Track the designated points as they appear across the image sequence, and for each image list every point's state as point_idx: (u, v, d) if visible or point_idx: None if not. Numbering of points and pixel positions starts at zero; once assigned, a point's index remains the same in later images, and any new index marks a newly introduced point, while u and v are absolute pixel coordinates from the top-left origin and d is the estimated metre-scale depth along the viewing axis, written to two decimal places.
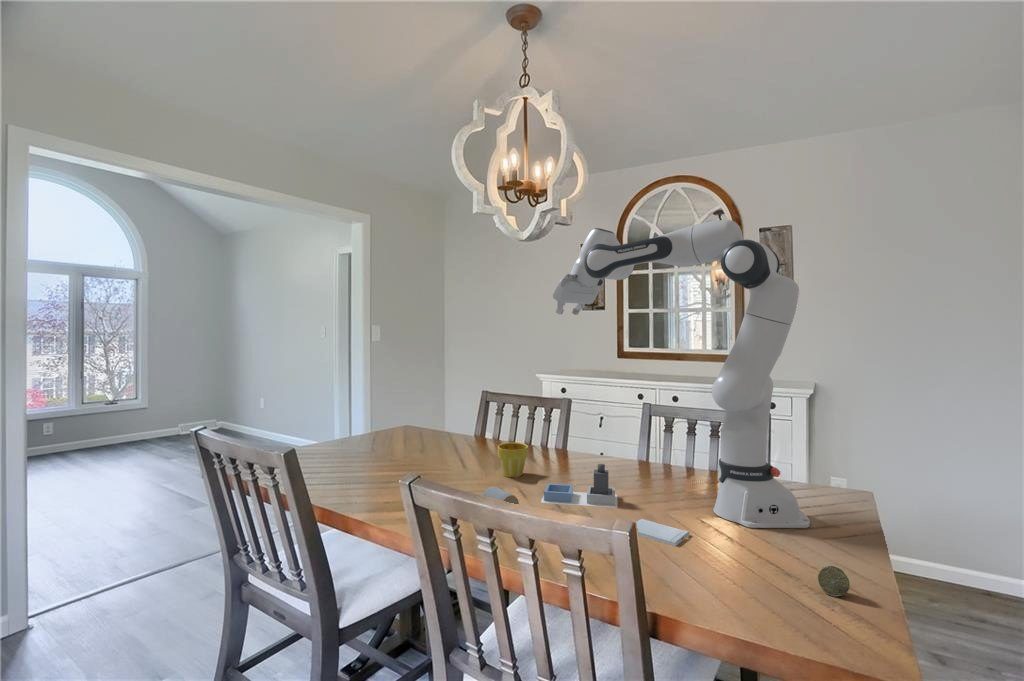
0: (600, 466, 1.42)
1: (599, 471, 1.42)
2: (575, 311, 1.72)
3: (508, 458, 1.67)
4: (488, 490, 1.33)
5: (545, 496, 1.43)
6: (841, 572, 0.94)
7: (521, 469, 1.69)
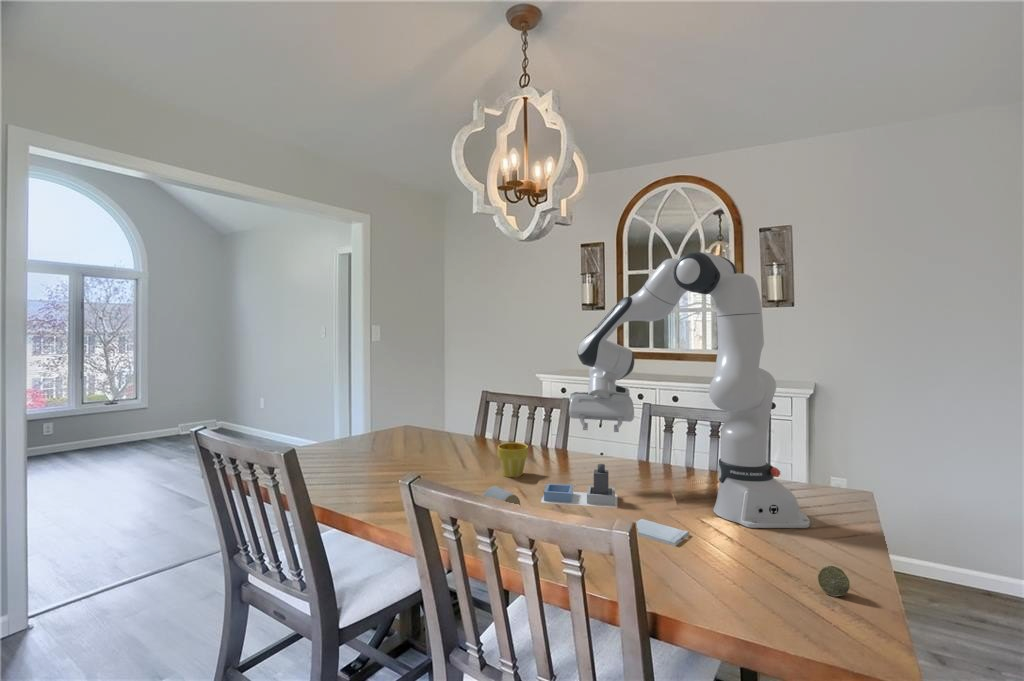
0: (600, 466, 1.42)
1: (599, 471, 1.42)
2: (614, 427, 1.56)
3: (508, 458, 1.67)
4: (489, 490, 1.33)
5: (545, 496, 1.43)
6: (841, 572, 0.94)
7: (521, 469, 1.69)
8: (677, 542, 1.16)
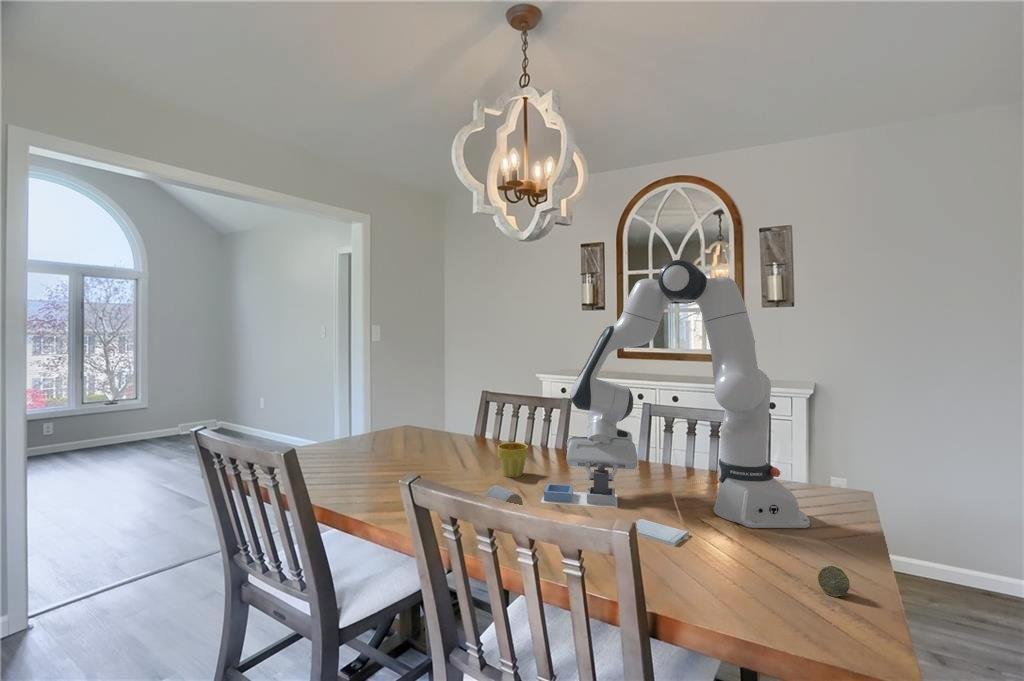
0: (600, 466, 1.42)
1: (599, 471, 1.42)
2: None
3: (508, 458, 1.67)
4: (492, 489, 1.34)
5: (545, 496, 1.43)
6: (841, 572, 0.94)
7: (521, 469, 1.69)
8: (677, 542, 1.16)
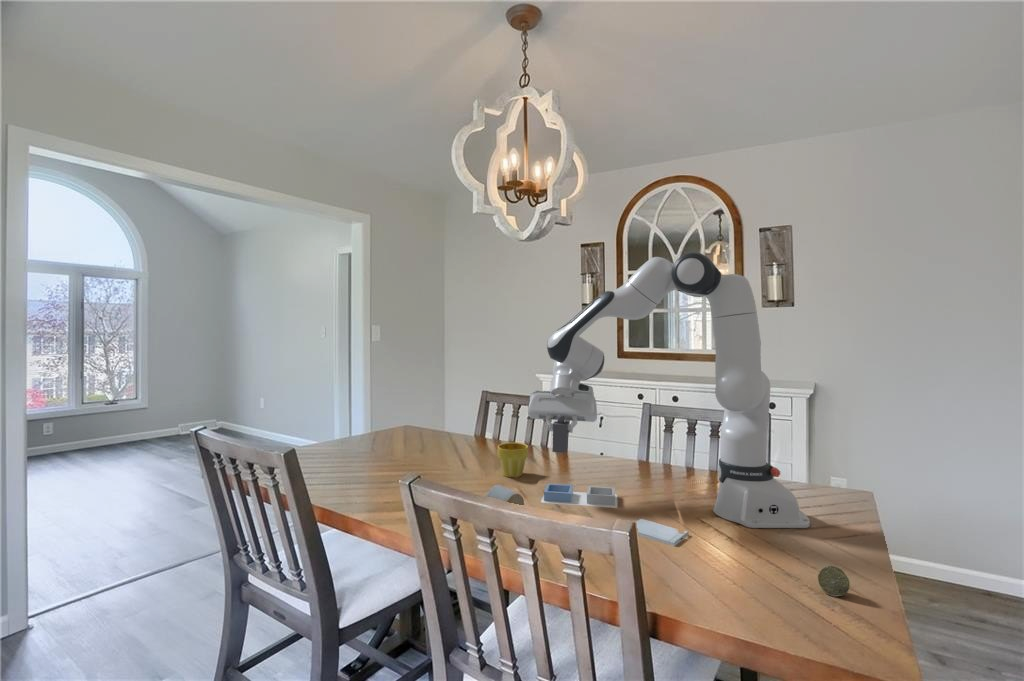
0: (559, 417, 1.44)
1: (558, 422, 1.45)
2: (567, 427, 1.45)
3: (508, 458, 1.67)
4: (493, 488, 1.34)
5: (545, 496, 1.43)
6: (841, 572, 0.94)
7: (521, 469, 1.69)
8: (676, 542, 1.16)
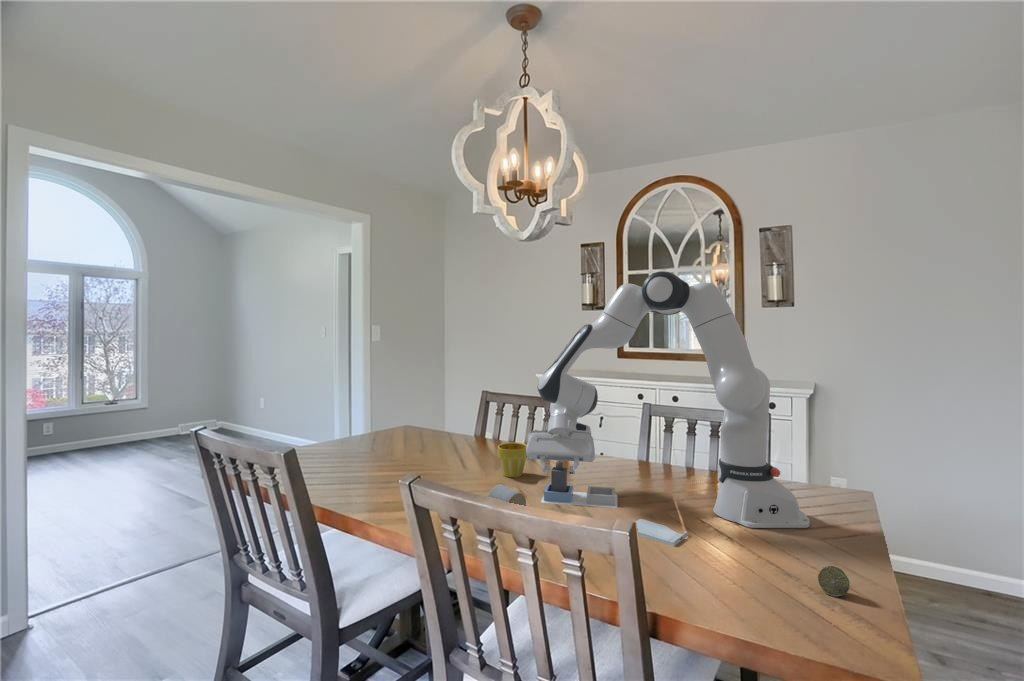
0: (558, 464, 1.45)
1: (557, 469, 1.45)
2: None
3: (508, 458, 1.67)
4: (495, 488, 1.34)
5: (545, 496, 1.43)
6: (841, 572, 0.94)
7: (521, 469, 1.69)
8: (676, 542, 1.16)
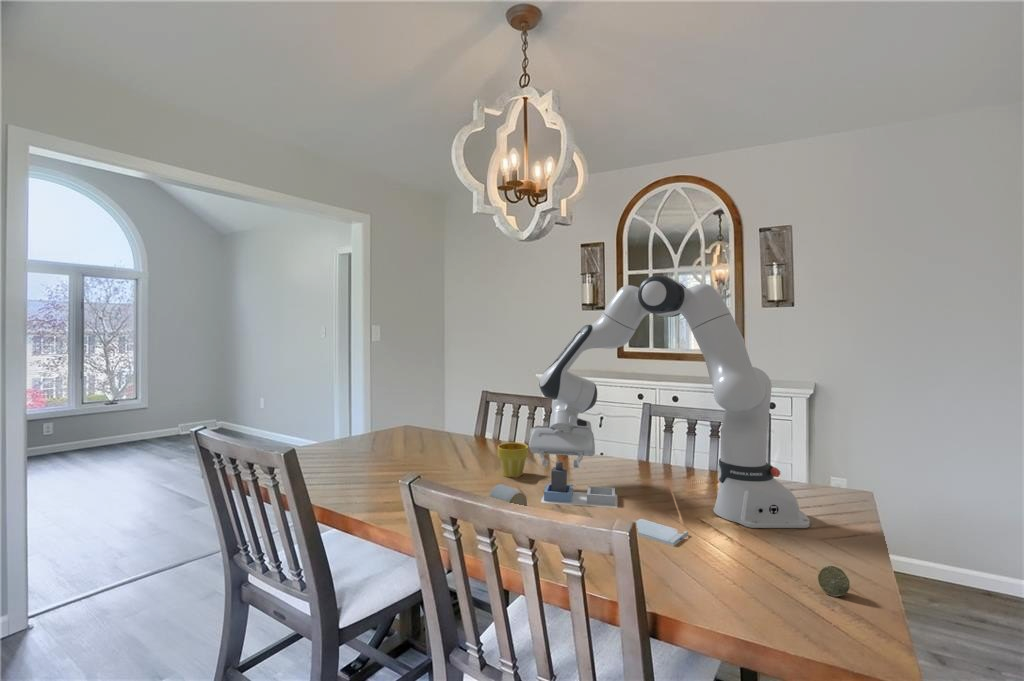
0: (558, 464, 1.45)
1: (557, 469, 1.45)
2: (574, 462, 1.51)
3: (508, 458, 1.67)
4: (496, 488, 1.35)
5: (545, 496, 1.43)
6: (841, 572, 0.94)
7: (521, 469, 1.69)
8: (675, 542, 1.16)
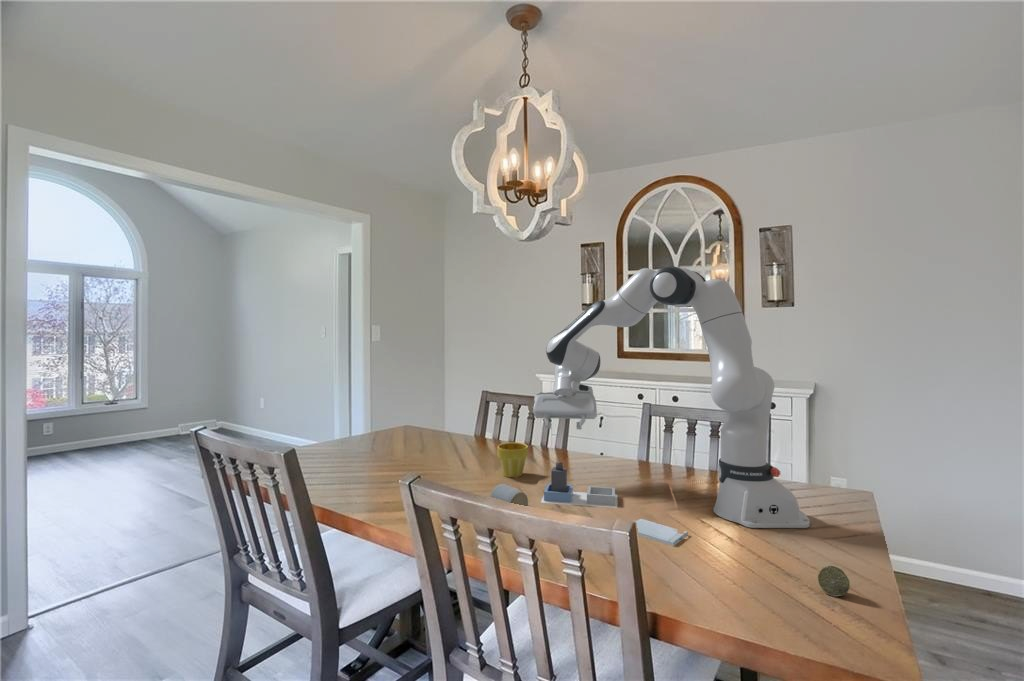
0: (558, 464, 1.45)
1: (557, 469, 1.45)
2: None
3: (508, 458, 1.67)
4: (497, 487, 1.35)
5: (545, 496, 1.43)
6: (841, 572, 0.94)
7: (521, 469, 1.69)
8: (675, 542, 1.16)
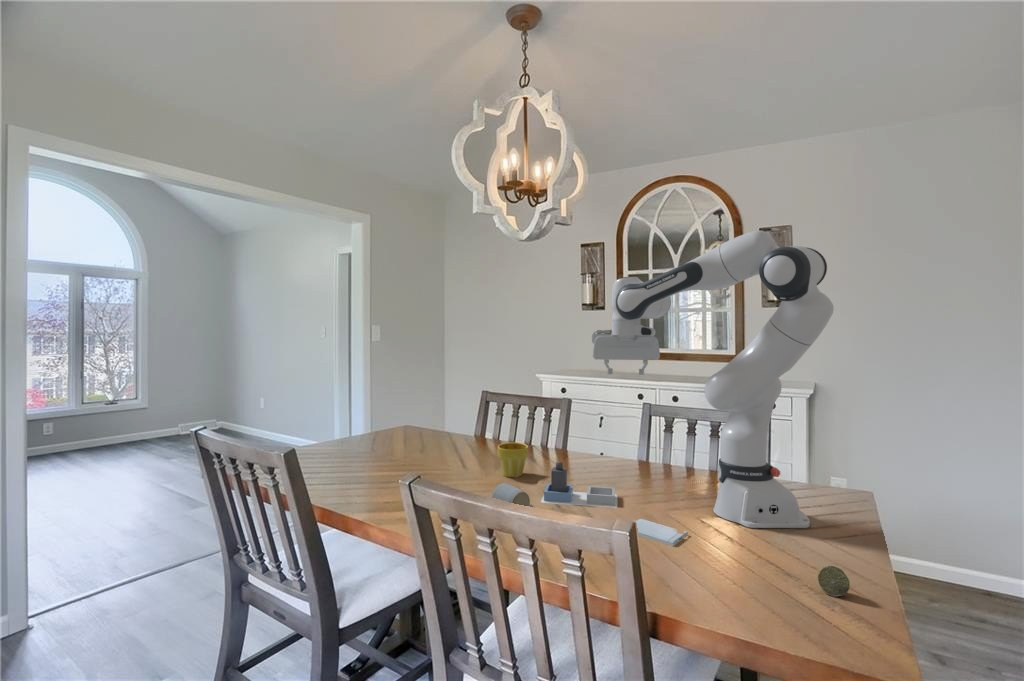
0: (558, 464, 1.45)
1: (557, 469, 1.45)
2: (639, 371, 1.56)
3: (508, 458, 1.67)
4: (499, 487, 1.35)
5: (545, 496, 1.43)
6: (841, 572, 0.94)
7: (521, 469, 1.69)
8: (675, 542, 1.16)
